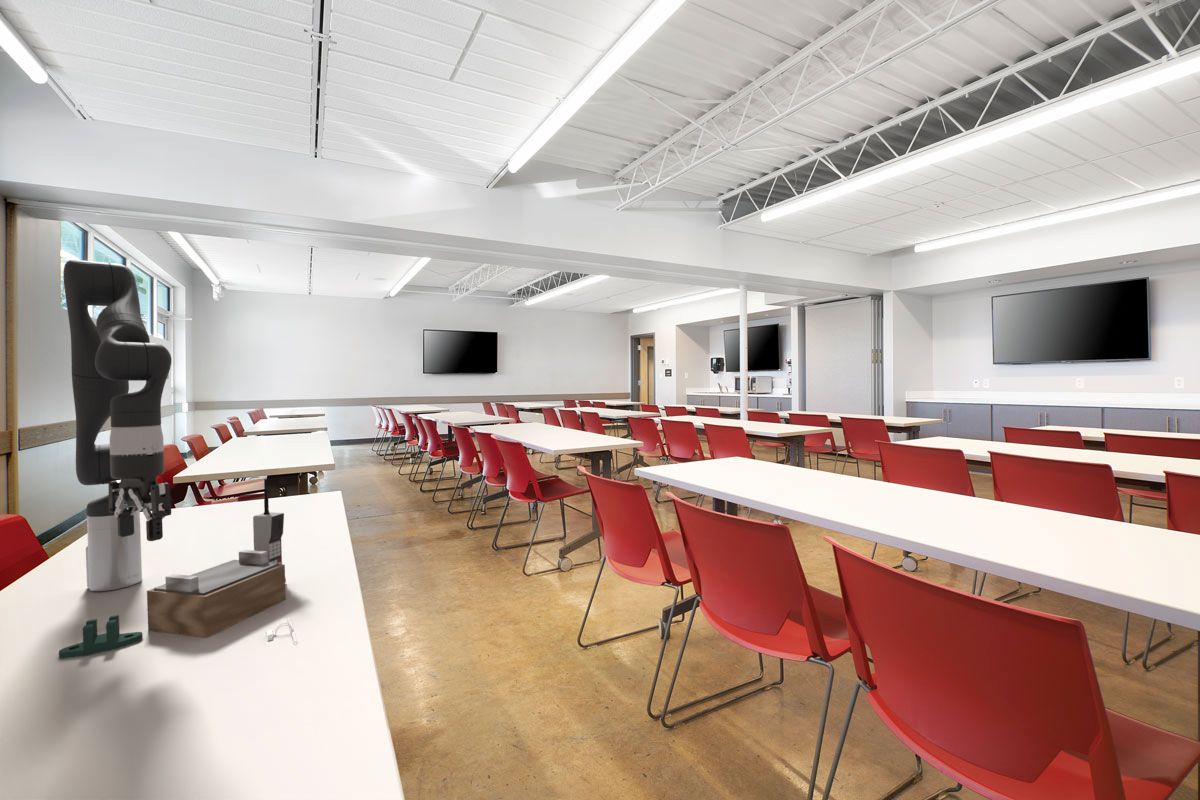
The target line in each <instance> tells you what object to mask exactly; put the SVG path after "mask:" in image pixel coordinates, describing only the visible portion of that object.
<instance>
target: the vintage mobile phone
mask: <svg viewBox="0 0 1200 800" xmlns="http://www.w3.org/2000/svg"><path fill="white" fill-rule="evenodd" d="M263 480H264V482H263V483H264V484H263V485H264V487H263V488H264V489H263V490H264V492H263V493H264V499H263V504H264V505H263V506H264V511H263V512H262V513H259V514H256V515H254V516H253V517H252V526H253V529H252V531H253V550H254V551H267V561H268V562H269V563H279V564H282V565H283V555H282V554H283V553H282V551H283V550H282V536H283V534H284V526H285V525H284V524H285V523H284V521H285V513H284V512H270V511H269V497H268V479H267V478H264V479H263ZM286 583H287V578H286V577H285V584H286Z"/></svg>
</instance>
